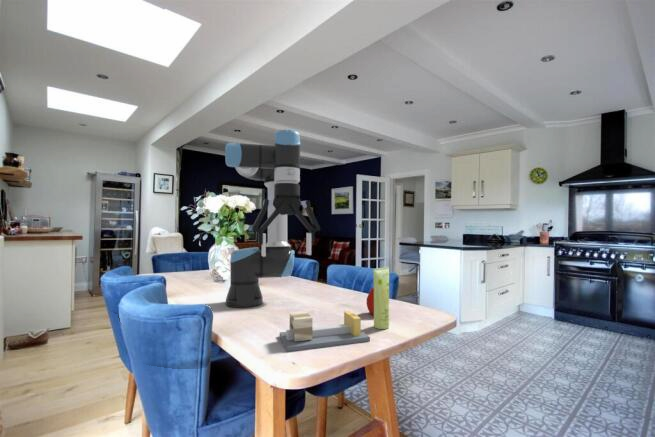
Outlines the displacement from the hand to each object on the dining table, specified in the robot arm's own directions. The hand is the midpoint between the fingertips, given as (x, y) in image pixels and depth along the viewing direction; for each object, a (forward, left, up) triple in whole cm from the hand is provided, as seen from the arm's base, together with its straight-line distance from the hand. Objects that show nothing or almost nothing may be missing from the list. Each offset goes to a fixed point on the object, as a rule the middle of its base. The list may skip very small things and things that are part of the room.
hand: (286, 255), depth 93 cm
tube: (0, +31, -25) cm, 40 cm away
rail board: (+4, +10, -24) cm, 27 cm away
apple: (-14, +37, -25) cm, 47 cm away
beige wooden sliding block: (+4, +3, -23) cm, 23 cm away
